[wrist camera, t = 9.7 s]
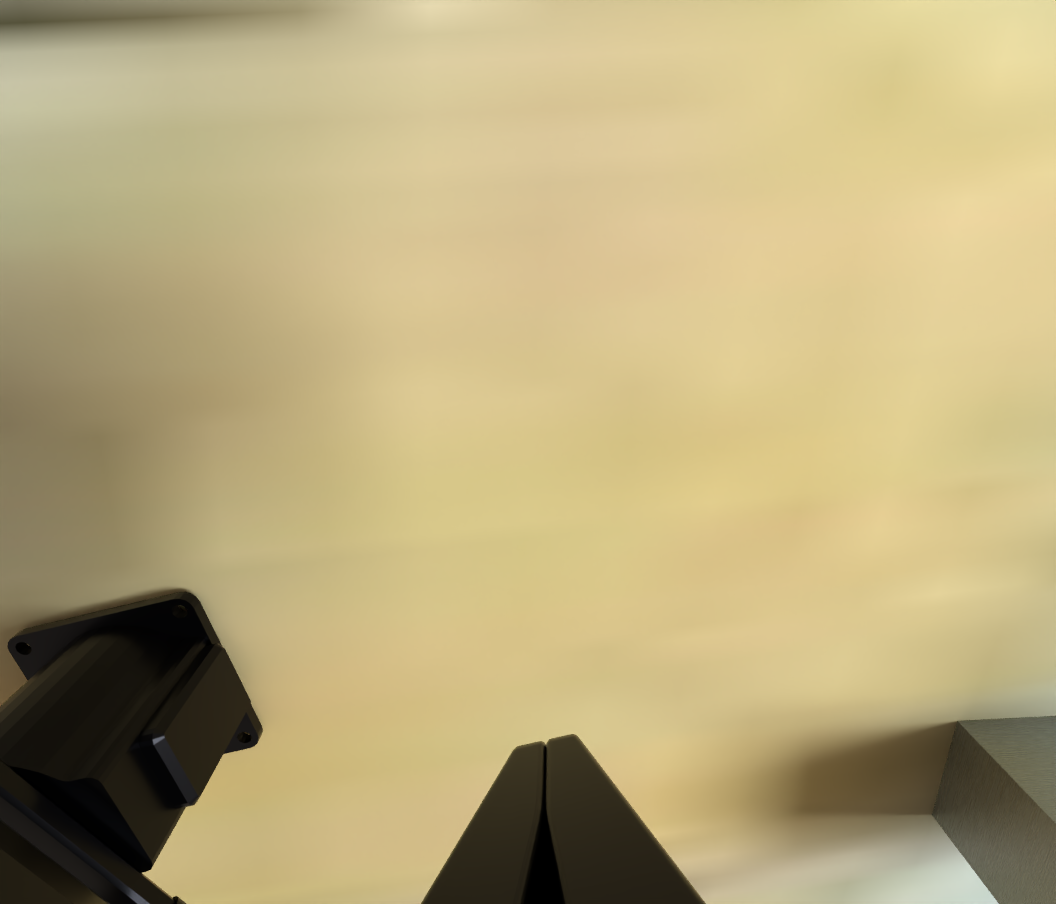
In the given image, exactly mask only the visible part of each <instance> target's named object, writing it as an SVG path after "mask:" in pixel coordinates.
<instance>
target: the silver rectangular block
mask: <svg viewBox="0 0 1056 904" xmlns="http://www.w3.org/2000/svg"><path fill="white" fill-rule="evenodd" d="M932 816H933V817H934V818H935V820H936V821H937V822H938V823H939V825H940V826H941V827H942V829H943V830H944V831H945V833H946V834H947V835H948V837H949V838H950V839H951V841H952V842H953V843H954V845H955V846H956V847H957V849H958V850H959V851H960V853H961V854H962V855H963V857H964V858H965V859H966V861H967V862H968V863H969V865H970V866H971V867H972V869H973V870H974V871H975V872H976V874H977V875H978V876H979V878H980V879H981V880H982V882H983V883H984V884H985V886H986V887H987V888H988V890H989V891H990V892H991V894H992V895H993V896H994V898H995V899H996V900H997V902H998V903H999V904H1056V716H1044V717H1025V718H1005V719H986V720H966V721H957V725H956V728H955V732H954V736H953V739H952V743H951V747H950V751H949V754H948V758H947V762H946V765H945V769H944V773H943V776H942V780H941V784H940V788H939V791H938V795H937V799H936V802H935V806H934V810H933V814H932Z"/></svg>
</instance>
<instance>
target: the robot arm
mask: <svg viewBox="0 0 1056 904" xmlns="http://www.w3.org/2000/svg"><path fill="white" fill-rule="evenodd" d="M178 605H181V606H184V607H185V608H186V609H187V611H183V610H181V609H180V608H179V607H178ZM26 643H27V644H29V645H30V646H31V647H30V646H28V645H27V644H26ZM8 649H9V652H10V653H11V655H12V656H13V658H14V660H15V661H16V663H17V664H18V666H19V667H20V669H21V670H22V672H23V673H24V675H25V677H26V678H27V680H28V681H27V682H26V683H25V684H24V685H23V686H22V687H21V688H20V689H19V690H17V691H16V692H15V693H14V694H13V695H12V696H11V697H10V698H9V699H8V700H7V701H6V702H4V703H3V704H2V705H1V706H0V904H186V903H185V902H184V901H182V900H181V899H180V898H179V897H177V896H175V897H173V898H172V897H171V896H169V895H168V894H167V893H166V892H164V891H163V890H162V889H161V888H159V887H158V886H157V885H156V884H155V883H153V882H152V881H151V880H150V879H148V878H147V877H146V876H145V875H143V874H142V872H146V871H149V870H151V868H152V866H153V865H154V863H155V861H156V859H157V858H158V856H159V854H160V852H161V850H162V849H163V847H164V845H165V843H166V841H167V840H168V838H169V836H170V834H171V833H172V831H173V829H174V827H175V825H176V824H177V822H178V820H179V818H180V816H181V815H182V813H183V811H184V809H185V808H186V807H187V806H192V805H195V803H196V802H197V801H198V799H199V797H200V796H201V794H202V792H203V790H204V788H205V787H206V785H207V783H208V781H209V779H210V777H211V776H212V774H213V772H214V770H215V768H216V766H217V765H218V763H219V761H220V759H221V757H222V755H223V754H225V753H230V752H234V751H239V750H243V749H247V748H251V747H253V746H255V745H256V744H257V743H258V741H259V739H260V737H261V735H262V732H263V729H262V725H261V723H260V721H259V719H258V717H257V715H256V713H255V711H254V709H253V707H252V705H251V701H250V699H249V697H248V695H247V693H246V691H245V689H244V686H243V684H242V682H241V680H240V678H239V676H238V674H237V672H236V670H235V668H234V666H233V664H232V662H231V660H230V658H229V656H228V654H227V652H226V650H225V649H224V648H223V647H222V645H221V643H220V641H219V639H218V637H217V635H216V633H215V631H214V629H213V627H212V625H211V623H210V621H209V619H208V617H207V615H206V613H205V611H204V609H203V607H202V605H201V603H200V601H199V600H198V598H197V597H196V596H194V595H193V594H191V593H187V592H179V593H175V594H170V595H166V596H162V597H158V598H154V599H149V600H145V601H141V602H137V603H133V604H128V605H124V606H120V607H116V608H112V609H107V610H103V611H99V612H95V613H90V614H86V615H82V616H78V617H74V618H69V619H65V620H61V621H57V622H53V623H48V624H44V625H40V626H36V627H32V628H27V629H24V630H22V631H20V632H19V633H17V634H16V635H15V636H14V637H12V638H11V639H10V641H9V642H8ZM244 732H247V733H249V734H245V733H244ZM421 904H706V903H705V902H704V901H703V899H702V898H701V897H700V895H699V894H698V893H697V892H696V890H695V889H694V888H693V886H692V885H691V884H690V882H689V881H688V880H687V878H686V877H685V876H684V875H683V873H682V872H681V871H680V869H679V868H678V867H677V865H676V864H675V863H674V861H673V860H672V859H671V858H670V856H669V855H668V854H667V852H666V851H665V850H664V848H663V847H662V846H661V844H660V843H659V842H658V841H657V839H656V838H655V837H654V835H653V834H652V833H651V831H650V830H649V829H648V827H647V826H646V825H645V824H644V822H643V821H642V820H641V818H640V817H639V816H638V814H637V813H636V812H635V810H634V809H633V808H632V807H631V805H630V804H629V803H628V801H627V800H626V799H625V797H624V796H623V795H622V793H621V792H620V791H619V790H618V788H617V787H616V786H615V784H614V783H613V782H612V780H611V779H610V778H609V776H608V775H607V774H606V773H605V771H604V770H603V769H602V767H601V766H600V765H599V763H598V762H597V761H596V759H595V758H594V757H593V756H592V754H591V753H590V752H589V750H588V749H587V748H586V746H585V745H584V744H583V742H582V741H581V740H580V739H579V737H578V736H576V735H575V734H570V735H566V736H561V737H557V738H552V739H550V740H549V741H548V742H547V744H545V743H544V742H542V741H539V742H534V743H530V744H526V745H521V746H518V747H516V748H515V749H514V750H513V751H512V753H511V755H510V756H509V758H508V760H507V761H506V763H505V765H504V766H503V768H502V770H501V771H500V773H499V775H498V776H497V778H496V780H495V781H494V783H493V785H492V786H491V788H490V790H489V791H488V793H487V795H486V796H485V798H484V800H483V801H482V803H481V805H480V806H479V808H478V810H477V811H476V813H475V815H474V816H473V818H472V820H471V821H470V823H469V825H468V826H467V828H466V830H465V831H464V833H463V835H462V836H461V838H460V840H459V841H458V843H457V845H456V846H455V848H454V850H453V851H452V853H451V855H450V856H449V858H448V860H447V861H446V863H445V865H444V866H443V868H442V870H441V871H440V873H439V875H438V876H437V878H436V880H435V881H434V883H433V885H432V886H431V888H430V890H429V891H428V893H427V895H426V896H425V898H424V900H423V901H422V903H421Z"/></svg>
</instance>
